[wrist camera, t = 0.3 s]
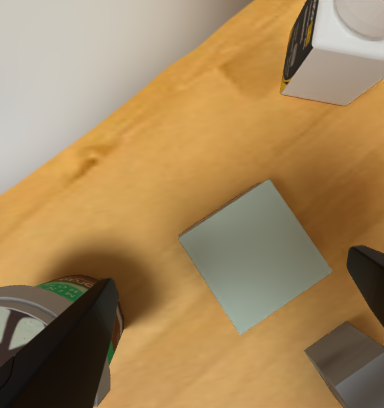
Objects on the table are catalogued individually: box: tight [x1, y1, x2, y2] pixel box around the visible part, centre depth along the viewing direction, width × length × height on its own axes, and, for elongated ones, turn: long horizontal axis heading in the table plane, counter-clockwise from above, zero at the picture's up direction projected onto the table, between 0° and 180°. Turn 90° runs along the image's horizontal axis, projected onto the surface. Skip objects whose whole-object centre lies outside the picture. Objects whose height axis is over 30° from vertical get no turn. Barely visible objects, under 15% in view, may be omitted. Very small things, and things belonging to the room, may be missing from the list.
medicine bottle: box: [280, 0, 384, 106], centre depth 19 cm, size 7×7×12 cm
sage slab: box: [178, 179, 333, 335], centre depth 20 cm, size 9×9×2 cm
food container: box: [0, 275, 124, 407], centre depth 18 cm, size 12×6×10 cm, turn 87°
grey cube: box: [304, 322, 384, 408], centre depth 20 cm, size 5×5×5 cm
